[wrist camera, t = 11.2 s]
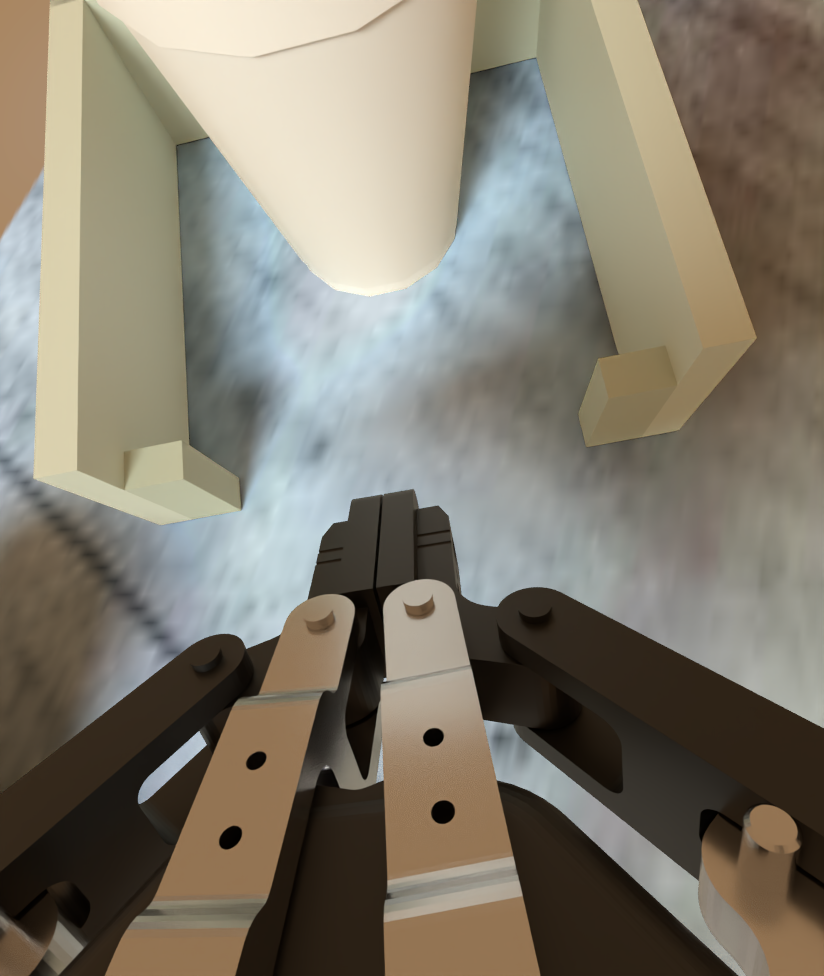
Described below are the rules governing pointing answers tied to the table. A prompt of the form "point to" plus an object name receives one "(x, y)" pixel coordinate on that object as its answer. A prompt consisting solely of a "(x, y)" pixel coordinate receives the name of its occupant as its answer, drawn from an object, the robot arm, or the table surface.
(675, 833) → the robot arm
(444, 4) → the foam cup
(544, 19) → the walled box
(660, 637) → the table surface
